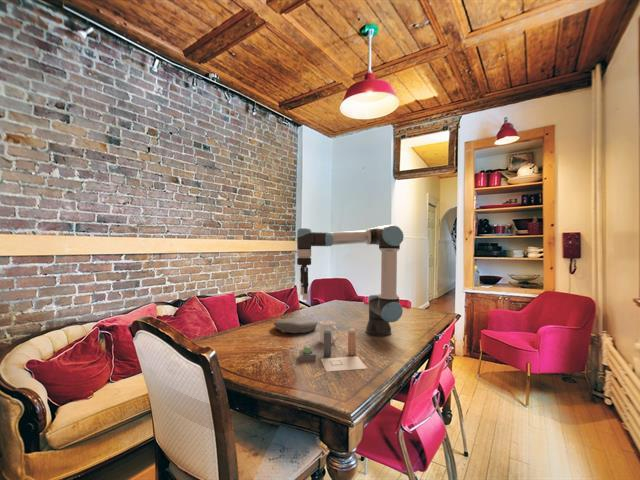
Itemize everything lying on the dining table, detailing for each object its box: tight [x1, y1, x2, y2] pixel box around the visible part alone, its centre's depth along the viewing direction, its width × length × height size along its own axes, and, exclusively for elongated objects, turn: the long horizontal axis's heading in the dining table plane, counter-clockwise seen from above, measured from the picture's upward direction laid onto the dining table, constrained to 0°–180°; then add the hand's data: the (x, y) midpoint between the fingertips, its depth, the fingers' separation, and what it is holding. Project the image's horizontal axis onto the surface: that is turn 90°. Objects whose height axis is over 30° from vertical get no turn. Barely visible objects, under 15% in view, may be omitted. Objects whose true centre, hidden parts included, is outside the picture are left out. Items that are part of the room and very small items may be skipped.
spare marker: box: [347, 328, 357, 357], centre depth 147 cm, size 4×4×12 cm
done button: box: [302, 345, 313, 354], centre depth 143 cm, size 4×4×4 cm
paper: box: [320, 355, 368, 373], centre depth 136 cm, size 18×14×1 cm
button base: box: [298, 348, 317, 363], centre depth 143 cm, size 7×7×3 cm
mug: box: [319, 320, 340, 345], centre depth 166 cm, size 9×12×11 cm
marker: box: [323, 329, 332, 358], centre depth 146 cm, size 4×4×12 cm
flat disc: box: [273, 317, 319, 335], centre depth 192 cm, size 28×28×4 cm
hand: (304, 297), depth 160 cm, fingers open, 13 cm apart
